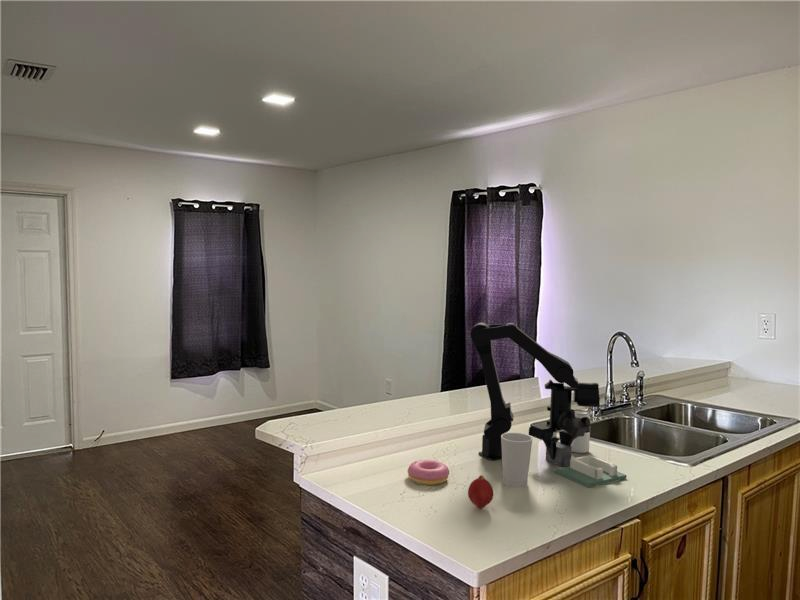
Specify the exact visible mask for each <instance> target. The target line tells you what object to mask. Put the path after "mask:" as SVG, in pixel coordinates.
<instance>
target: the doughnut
mask: <svg viewBox="0 0 800 600" xmlns="http://www.w3.org/2000/svg"><path fill="white" fill-rule="evenodd" d="M407 475H408V478H409V479H410V480H411V481H412V482H414V483H416V484H418V485H424V486H437V485H440V484H441V485H442V484H443V483H445V482H446V481H447V480H448V479H449V475H450V470H449V467H448V466H447V465H446V464H445V463H443V462H442V461H438V460H436V459H419V460H415V461H413V462H412V463H410V464H409V466H408V468H407Z"/></svg>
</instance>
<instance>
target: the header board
mask: <svg viewBox="0 0 800 600" xmlns="http://www.w3.org/2000/svg"><path fill="white" fill-rule="evenodd" d="M554 469H555V470H554V472H555V473H556V474H559V475H560V476H563V477H565V478H566V479H567V478H568V480H571V481H574V482H576V483H578V484H580V485H583V486H585V487H587V488H592V487H597V486H600V485H605V484H609V483H610V484H611V483H614V482H618V481H623V480H627V474H625V473H622V472H620V471H618V465H616V464H615V463H611V462H609V461H606V460H603V459H601V458H598V457H597V456H593V455H591V454H589V455H583V456H578V457H573V458H572V457H571V459H570V466H560V467H557V468H554Z"/></svg>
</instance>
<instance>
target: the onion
mask: <svg viewBox="0 0 800 600" xmlns="http://www.w3.org/2000/svg"><path fill="white" fill-rule="evenodd" d="M493 488H494V487H492V485H491V483H490V482H489V480H487V479H486V478H485V477H484V475H483V474H480V475H479V476H478V478H475V479H474V480H472V482H471V483H470V485H469V486H468V490H467V496H468V498H469V501H470V502H471V503H472V504H473V505H475V507H476V508H477V509H479V510H482V509H484V508H486V506H487V505H489V504H490V503H491V502H492V501H493V498H494V489H493Z"/></svg>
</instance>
